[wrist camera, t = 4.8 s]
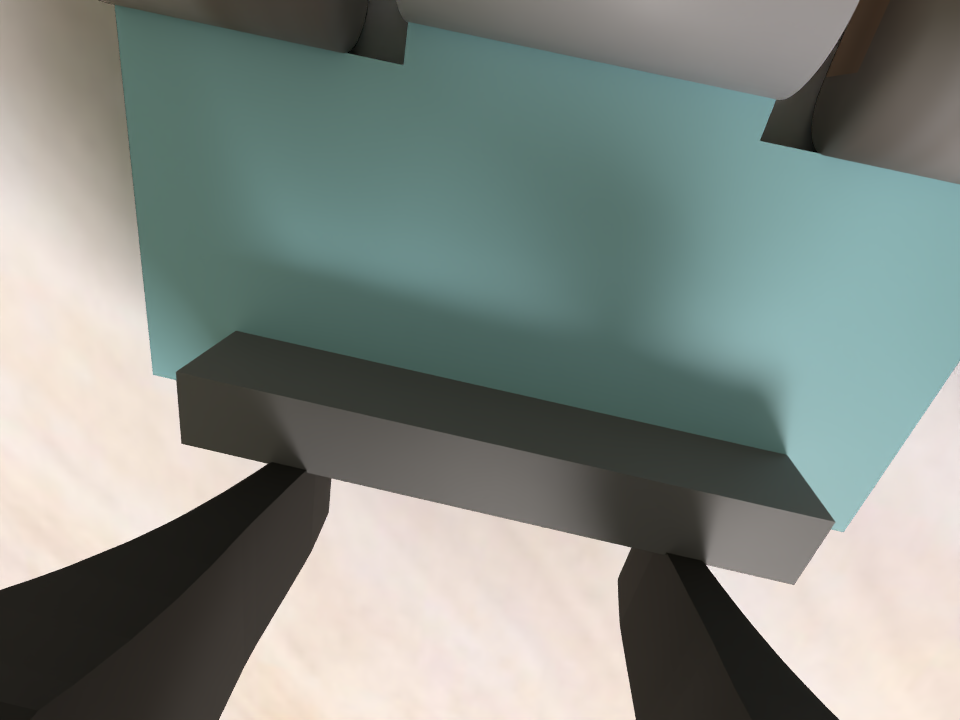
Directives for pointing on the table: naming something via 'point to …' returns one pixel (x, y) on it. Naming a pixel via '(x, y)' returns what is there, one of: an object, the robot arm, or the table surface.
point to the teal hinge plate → (542, 268)
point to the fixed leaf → (841, 102)
